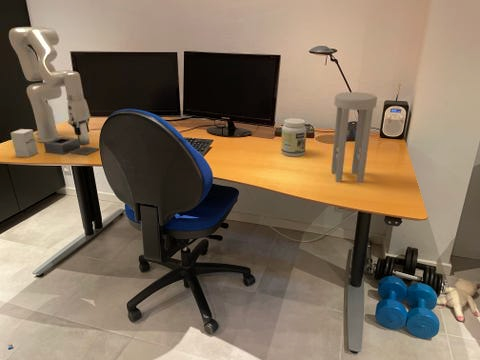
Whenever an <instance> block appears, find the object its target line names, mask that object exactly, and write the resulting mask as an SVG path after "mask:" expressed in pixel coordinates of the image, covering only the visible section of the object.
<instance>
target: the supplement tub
mask: <svg viewBox="0 0 480 360" xmlns="http://www.w3.org/2000/svg"><path fill="white" fill-rule="evenodd" d="M305 125H306V120H305V119H302V118H296V117H292V118H290V117H289V118H286V119H284V120H283V125H282V127H281V141H280V142H281V143H280V144H281V145H280V148H281V149H280V151H281V153H282V155H284V156H285V157H286V156H287V157H293V158H294V157H295V158H296V157H301V156H303V155H305V153H306V144H307V143H306V142H307V141H306V140H307V126H305Z"/></svg>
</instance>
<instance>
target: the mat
mask: <svg viewBox="0 0 480 360" xmlns="http://www.w3.org/2000/svg"><path fill="white" fill-rule="evenodd" d="M98 151H100V150H99V147H92V146H86V145H84V146H82V147H80V148H79V149H76V150H74V151H72V152H70V154H72V155H79V156H80V155H81V156H85V157H86V156H89V155H92V154H93V153H95V152H98Z"/></svg>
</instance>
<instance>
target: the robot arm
mask: <svg viewBox="0 0 480 360" xmlns="http://www.w3.org/2000/svg"><path fill="white" fill-rule="evenodd" d="M8 39H9V42H10V45H11V47H12V48H13V50H14V51H15V54H16V55H17V57H18V59H19V64H20V66H21V68H22V69H21V70H22V72H23V74H24V77H25V79H26V81H29V82H38V81H44V82H38V83H32V84H29V85H28V86H27V88H26V94H27V97H28V99H29V101H30V104H31V108H32V111H33V114H34V119H35V123H36V128H37V130H36V132H35V134H34V136H38V137H37V138H36V142H38V143H45V142H48V141H51V140H54V139H56V138H59V137H62V135H61V134H58V129H57V125H56V120H55V117H54V112H53V111H54V110H53V108H52V106H51V105H50V103H48V102H47V101H50V100H51V101H52V100H55V99H59V98H61V97H62V94H63V92H62V87H64V89H65V93H66V100H67V113H68V120H67V124H69V125H70V126H72V128H73V129H74V134H75V135H76V136H77V135H81V132H80V127H79V122H81V121H84V120H85V121H86V126H87V131H88V133H90V128H89V122H90V119H91V117H92V116H91V114H90V110H89V106H88V102H87V100H86V99H85V97H84V92H83V91H84V90H83V85H82V80H81V75H80V73H79V72H77V71H72V70H70V69H65V70H56V68H55V66H54V65H53V63H52V62H54V61H55V59H56V58H57V56H58V52H57V50H56V49H55V47H54V46H57V45H58V44H59V42H60V37H59V34H58V33H57V32H56V30H55V29H53V28H51V27H45V26H22V27H21V26H20V27H19V26H18V27H14V28H11V29H10V30H9V33H8ZM29 45H31V47H32V48H33V49H32V48H31V47H30V46H29ZM37 56H38V57H39V60H38V57H37ZM75 122H76V124H75Z"/></svg>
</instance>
